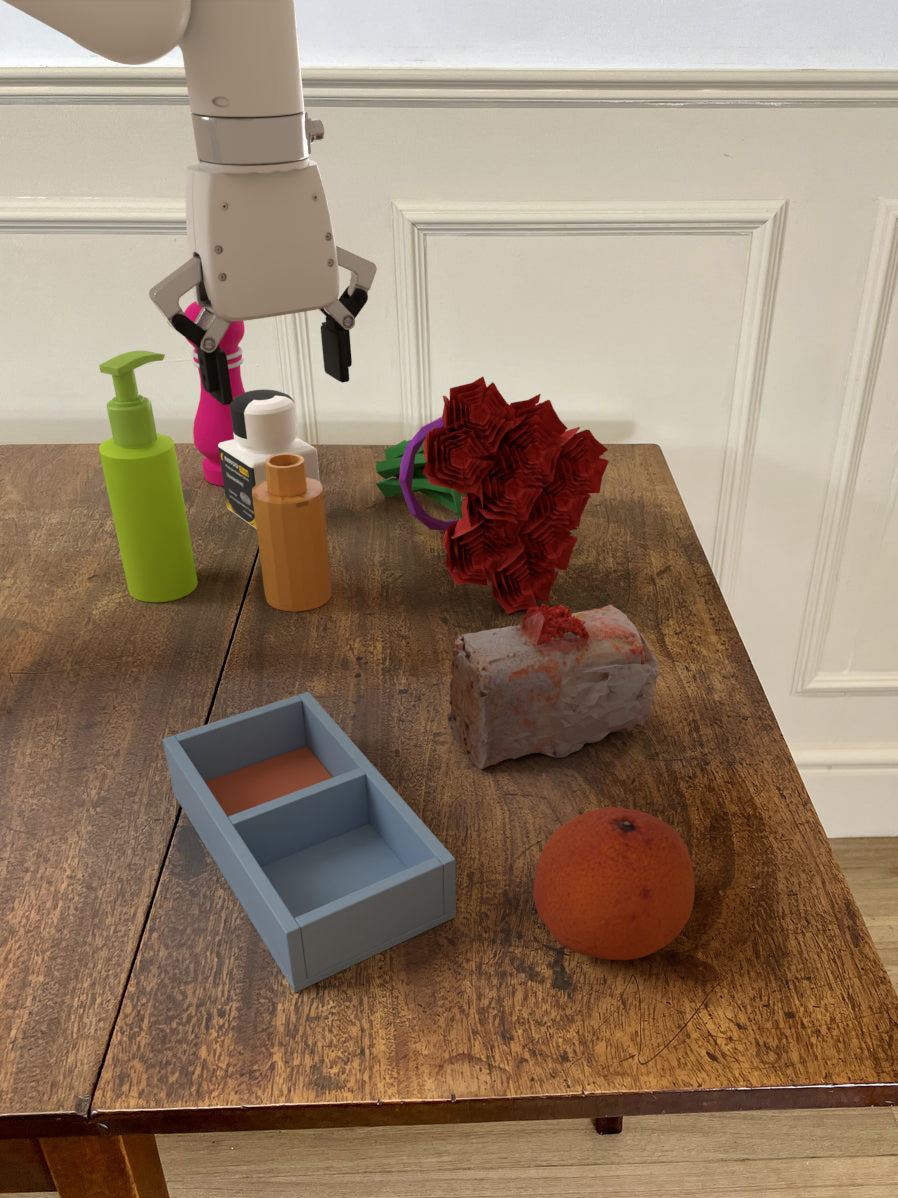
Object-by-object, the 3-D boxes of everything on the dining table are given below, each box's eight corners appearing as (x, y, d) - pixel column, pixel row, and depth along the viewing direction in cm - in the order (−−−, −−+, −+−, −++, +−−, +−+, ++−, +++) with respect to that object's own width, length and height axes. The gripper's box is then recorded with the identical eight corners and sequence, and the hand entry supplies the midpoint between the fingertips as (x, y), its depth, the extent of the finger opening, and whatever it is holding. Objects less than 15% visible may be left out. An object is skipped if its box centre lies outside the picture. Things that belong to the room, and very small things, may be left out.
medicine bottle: (225, 509, 105) (209, 393, 98) (288, 492, 109) (276, 379, 102) (260, 534, 101) (245, 414, 94) (323, 515, 105) (313, 398, 98)
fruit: (670, 870, 64) (685, 768, 59) (698, 986, 56) (718, 880, 52) (526, 872, 63) (530, 770, 59) (535, 990, 56) (541, 883, 51)
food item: (605, 683, 81) (615, 570, 75) (658, 740, 75) (674, 622, 69) (441, 723, 76) (439, 606, 70) (484, 788, 70) (485, 665, 64)
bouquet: (465, 529, 117) (623, 589, 92) (328, 561, 110) (460, 636, 85) (445, 347, 109) (612, 360, 85) (296, 368, 102) (432, 390, 78)
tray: (294, 993, 55) (286, 933, 53) (173, 794, 69) (161, 738, 66) (456, 917, 60) (455, 858, 58) (314, 744, 73) (308, 690, 71)
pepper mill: (185, 478, 111) (153, 284, 100) (235, 457, 116) (209, 270, 105) (233, 494, 108) (205, 295, 97) (282, 472, 113) (261, 281, 102)
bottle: (281, 618, 88) (265, 479, 81) (255, 590, 92) (237, 455, 85) (342, 600, 90) (332, 465, 83) (314, 574, 94) (302, 442, 87)
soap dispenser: (218, 574, 94) (184, 351, 83) (167, 608, 89) (123, 375, 77) (167, 560, 96) (126, 341, 84) (114, 593, 90) (63, 364, 79)
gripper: (341, 129, 78) (358, 358, 87) (108, 144, 70) (155, 394, 79) (389, 141, 73) (401, 382, 82) (143, 159, 65) (189, 424, 74)
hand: (280, 388), depth 81 cm, fingers open, 9 cm apart
